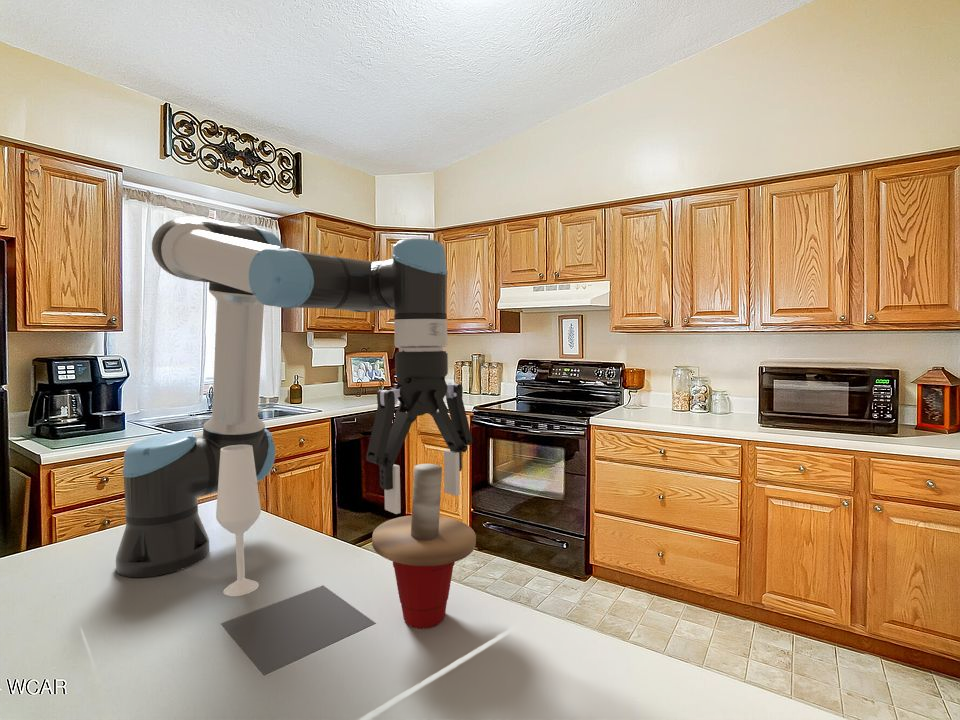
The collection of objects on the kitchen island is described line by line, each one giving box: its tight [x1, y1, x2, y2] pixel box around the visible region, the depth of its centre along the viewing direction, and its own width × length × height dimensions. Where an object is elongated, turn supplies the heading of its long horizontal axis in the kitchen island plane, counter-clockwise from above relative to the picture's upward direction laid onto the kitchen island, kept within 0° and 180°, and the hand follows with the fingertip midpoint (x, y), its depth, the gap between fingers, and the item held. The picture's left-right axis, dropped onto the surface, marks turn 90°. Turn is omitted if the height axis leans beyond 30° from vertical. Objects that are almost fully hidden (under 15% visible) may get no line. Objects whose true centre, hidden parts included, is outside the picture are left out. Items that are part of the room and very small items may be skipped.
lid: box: [371, 463, 477, 566], centre depth 74 cm, size 15×15×11 cm
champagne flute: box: [215, 445, 262, 597], centre depth 84 cm, size 7×7×24 cm
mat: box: [220, 585, 377, 676], centre depth 74 cm, size 16×16×1 cm
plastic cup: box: [392, 561, 456, 630], centre depth 75 cm, size 11×11×12 cm
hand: (423, 501), depth 74 cm, fingers open, 10 cm apart
